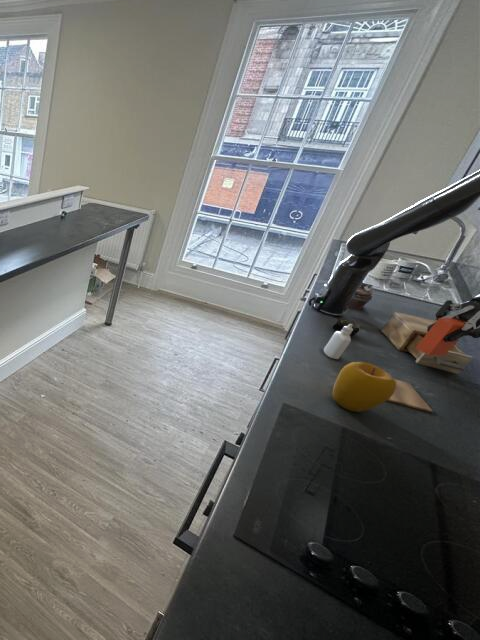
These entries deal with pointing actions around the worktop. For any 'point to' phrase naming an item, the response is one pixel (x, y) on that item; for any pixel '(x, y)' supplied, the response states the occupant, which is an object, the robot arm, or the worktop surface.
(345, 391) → the apple
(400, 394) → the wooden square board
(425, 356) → the drawer
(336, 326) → the tape measure
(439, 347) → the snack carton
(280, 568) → the worktop surface
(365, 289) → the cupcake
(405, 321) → the cabinet
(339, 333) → the eye dropper bottle
